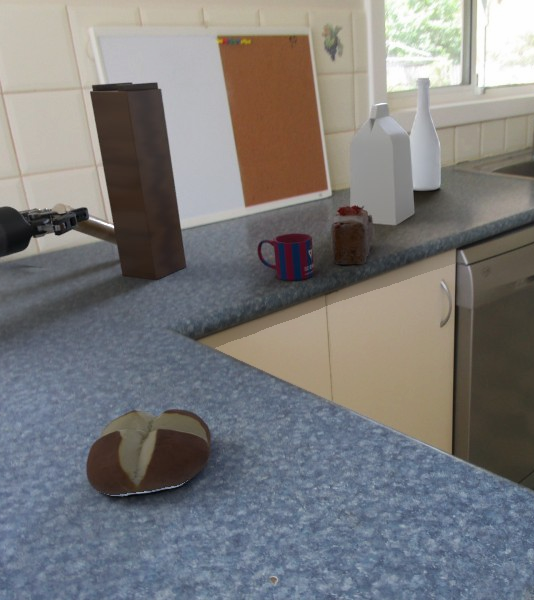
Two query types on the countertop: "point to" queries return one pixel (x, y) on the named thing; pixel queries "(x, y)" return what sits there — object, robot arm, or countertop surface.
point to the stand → (139, 178)
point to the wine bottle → (424, 143)
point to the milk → (382, 169)
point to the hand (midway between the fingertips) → (77, 212)
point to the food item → (351, 235)
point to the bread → (148, 452)
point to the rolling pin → (92, 225)
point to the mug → (291, 256)
